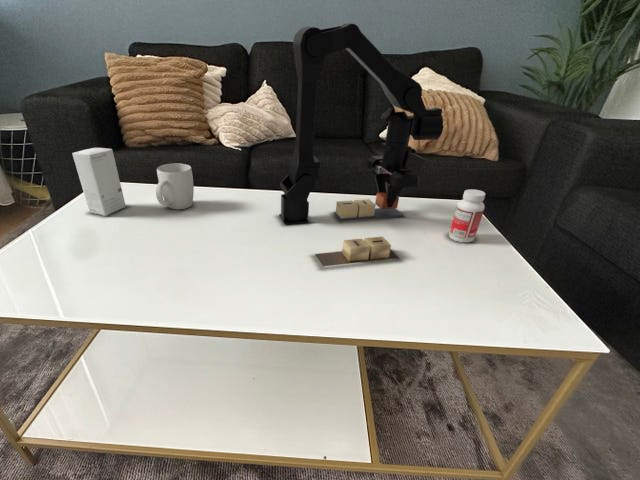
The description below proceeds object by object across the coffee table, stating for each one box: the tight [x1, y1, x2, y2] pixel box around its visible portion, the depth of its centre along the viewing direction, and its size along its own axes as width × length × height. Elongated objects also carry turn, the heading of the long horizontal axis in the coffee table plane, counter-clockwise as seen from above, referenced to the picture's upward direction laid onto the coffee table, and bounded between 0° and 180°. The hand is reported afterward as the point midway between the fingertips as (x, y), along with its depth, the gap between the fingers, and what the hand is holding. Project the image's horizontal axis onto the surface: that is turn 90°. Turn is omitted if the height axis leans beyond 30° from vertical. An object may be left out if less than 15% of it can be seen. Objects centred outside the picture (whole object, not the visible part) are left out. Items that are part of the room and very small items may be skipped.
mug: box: [155, 162, 195, 210], centre depth 110 cm, size 13×9×10 cm
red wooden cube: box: [374, 192, 400, 210], centre depth 110 cm, size 4×4×3 cm
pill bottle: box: [448, 188, 486, 243], centre depth 97 cm, size 6×6×11 cm
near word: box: [314, 236, 400, 267], centre depth 90 cm, size 18×6×4 cm, turn 105°
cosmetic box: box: [72, 147, 127, 217], centre depth 106 cm, size 8×6×15 cm
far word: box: [333, 198, 404, 222], centre depth 110 cm, size 18×6×4 cm, turn 105°
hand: (386, 204), depth 111 cm, fingers closed on red wooden cube, 4 cm apart
